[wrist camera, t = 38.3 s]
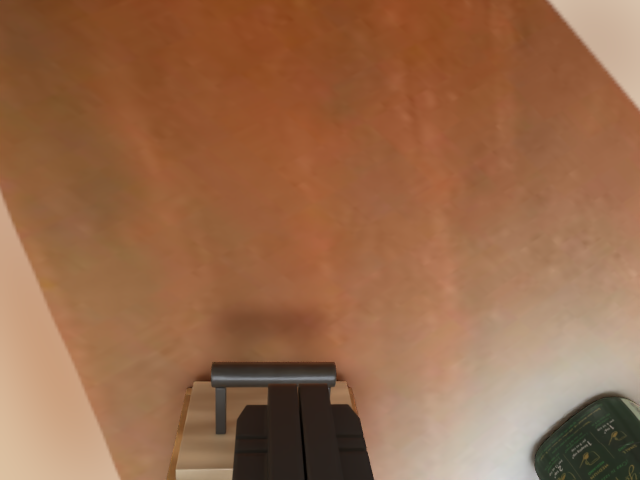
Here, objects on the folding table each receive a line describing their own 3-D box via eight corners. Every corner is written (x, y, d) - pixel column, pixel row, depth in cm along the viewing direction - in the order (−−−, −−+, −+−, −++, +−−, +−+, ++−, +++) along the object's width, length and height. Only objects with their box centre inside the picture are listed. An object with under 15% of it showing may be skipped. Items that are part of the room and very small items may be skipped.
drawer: (192, 319, 34) (172, 398, 27) (352, 321, 35) (374, 397, 28) (197, 528, 41) (182, 635, 34) (332, 524, 42) (345, 627, 35)
